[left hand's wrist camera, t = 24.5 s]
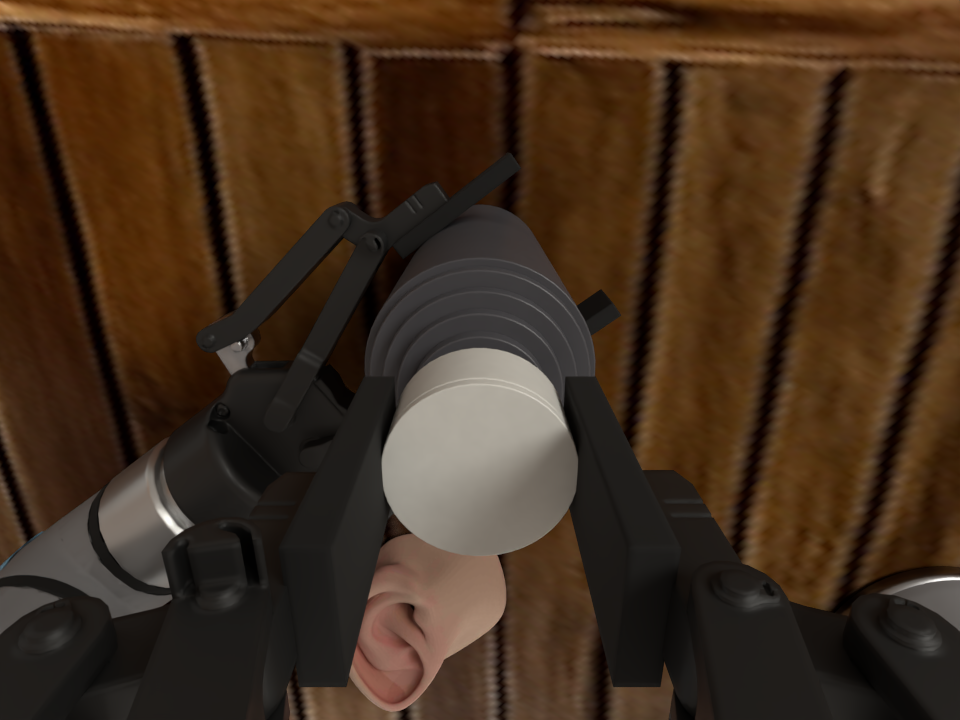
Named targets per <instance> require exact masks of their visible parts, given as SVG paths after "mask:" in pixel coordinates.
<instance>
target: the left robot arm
mask: <svg viewBox="0 0 960 720" xmlns="http://www.w3.org/2000/svg"><path fill="white" fill-rule="evenodd" d="M395 410H396V397H395V380H394V376H364V378H363V380H362V382H361V384H360V386H359V388H358V390H357V392H356V394H355V396H354V398H353V400H352V402H351V404H350V406H349V408H348V410H347V412H346V414H345V416H344V418H343V420H342V422H341V424H340V426H339V428H338V430H337V432H336V434H335V436H334V438H333V440H332V442H331V444H330V446H329V448H328V450H327V452H326V454H325V456H324V458H323V460H322V462H321V464H320V466H319V468H318V470H317V472H286V473H284V474H283V475H282V476H280V477H279V478H278V479H276V480H275V481H274V482H272V483H271V484H270V485H268V486H267V488H266V489H265V491H264V492H263V494H262V496H261V497H260V499H259V501H258V502H257V506H255V507H254V509H253V510H252V512H251V513H250V515H249V519H248V520H247V519H243V518H240V517H221V518H216V519H212V520H208V521H203V522H201V523H198V524H196V525H194V526H192V527H189V528H187V529H185V530H183V531H182V532H181V533H179V534H178V535H176V536H175V537H174V538H172V539H171V540H170V541H169V542H168V544H167V545H166V546H165V548H164V549H163V550H162V552H161V553H162V557H163V562H164V566H165V570H166V574H167V578H168V582H169V587H170V591H171V595H172V601H171V603H170V604H168V605H164V606H161V607H158V608H154V609H150V610H146V611H142V612H138V613H133V614H129V615H125V616H120V617H116V618H112V617H111V613H110V610H109V606H108V605H107V604H106V603H105V602H104V601H102V600H101V599H100V598H96V597H91V596H86V595H84V596H76V597H67V598H63V599H60V600H57V601H54V602H51V603H48V604H45V605H43V606H41V607H39V608H37V609H35V610H33V611H31V612H29V613H28V614H26V615H24V616H22V617H21V618H19V619H18V620H17V621H16V622H14V623H13V624H12V625H11V626H9V627H8V628H7V629H6V630H4V631H3V632H2V633H1V634H0V720H289V715H290V710H289V703H288V696H287V690H286V688H287V686H288V683H289V680H290V677H291V674H292V672H293V669H294V666H295V663H296V668H297V675H298V682H299V687H346V686H347V682H348V678H349V674H350V670H351V666H352V662H353V658H354V654H355V649H356V645H357V641H358V637H359V633H360V629H361V625H362V621H363V617H364V613H365V609H366V605H367V601H368V597H369V593H370V589H371V585H372V580H373V576H374V572H375V568H376V564H377V560H378V556H379V552H380V548H381V544H382V540H383V536H384V532H385V528H386V524H387V520H388V515H389V511H390V505H389V504H388V502H387V499H386V496H385V494H384V490H383V477H382V461H381V457H382V452H383V448H384V445H385V441H386V438H387V435H388V432H389V429H390V426H391V423H392V420H393V416H394V413H395ZM564 411H565V414H566V418H567V421H568V424H569V427H570V430H571V433H572V437H573V440H574V443H575V446H576V450H577V454H578V472H577V485H576V493H575V495H574V498H573V501H572V503H571V505H570V506H569V509H570V513H571V517H572V521H573V525H574V529H575V533H576V537H577V541H578V545H579V549H580V554H581V558H582V562H583V566H584V570H585V574H586V578H587V582H588V586H589V590H590V594H591V598H592V602H593V606H594V610H595V614H596V618H597V623H598V627H599V631H600V635H601V639H602V643H603V647H604V651H605V655H606V659H607V663H608V667H609V671H610V675H611V679H612V683H613V687H660V686H661V679H662V673H663V666H664V661H665V664H666V667H667V670H668V673H669V675H670V678H671V681H672V684H673V687H674V690H673V696H672V702H671V708H670V714H669V720H960V568H959V567H927V568H920V569H915V570H910V571H906V572H902V573H899V574H896V575H893V576H890V577H887V578H885V579H883V580H881V581H878V582H876V583H874V584H872V585H870V586H869V587H867V588H865V589H863V590H862V591H860V592H859V593H857V594H856V595H854V596H853V597H852V598H850V599H849V600H848V601H847V602H846V603H844V604H843V605H842V606H841V607H840V608H839V609H838V610H837V611H836V612H835V613H833V612H828V611H824V610H820V609H815V608H811V607H807V606H803V605H800V604H797V603H793V602H790V601H789V600H788V598H787V596H786V595H785V593H784V592H783V590H782V589H781V587H780V586H779V585H778V584H777V583H776V582H775V581H773V580H772V579H771V578H770V577H768V576H767V575H766V574H764V573H762V572H760V571H758V570H756V569H754V568H752V567H750V566H748V565H744V564H742V563H741V561H740V559H739V558H738V556H737V555H736V553H735V551H734V550H733V548H732V547H731V545H730V543H729V542H728V540H727V539H726V537H725V535H724V534H723V532H722V531H721V529H720V527H719V526H718V524H717V523H716V521H715V520H714V518H711V513H710V512H709V510H708V508H707V507H706V505H705V504H703V500H702V499H701V497H700V496H699V494H698V492H697V491H696V489H695V488H694V486H693V484H691V483H690V482H689V481H687V480H686V479H685V478H683V477H682V476H681V475H679V474H678V473H677V472H675V471H674V470H642V469H641V467H640V465H639V463H638V461H637V459H636V457H635V455H634V453H633V451H632V449H631V447H630V445H629V443H628V441H627V439H626V437H625V435H624V433H623V431H622V429H621V427H620V425H619V423H618V421H617V419H616V417H615V415H614V413H613V411H612V409H611V407H610V405H609V403H608V401H607V399H606V397H605V395H604V393H603V391H602V389H601V387H600V385H599V383H598V381H597V379H596V377H595V376H565V391H564Z"/></svg>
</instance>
